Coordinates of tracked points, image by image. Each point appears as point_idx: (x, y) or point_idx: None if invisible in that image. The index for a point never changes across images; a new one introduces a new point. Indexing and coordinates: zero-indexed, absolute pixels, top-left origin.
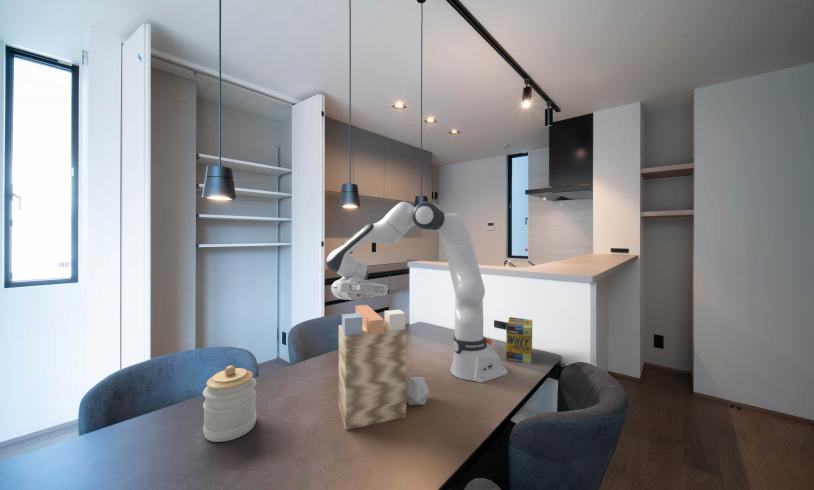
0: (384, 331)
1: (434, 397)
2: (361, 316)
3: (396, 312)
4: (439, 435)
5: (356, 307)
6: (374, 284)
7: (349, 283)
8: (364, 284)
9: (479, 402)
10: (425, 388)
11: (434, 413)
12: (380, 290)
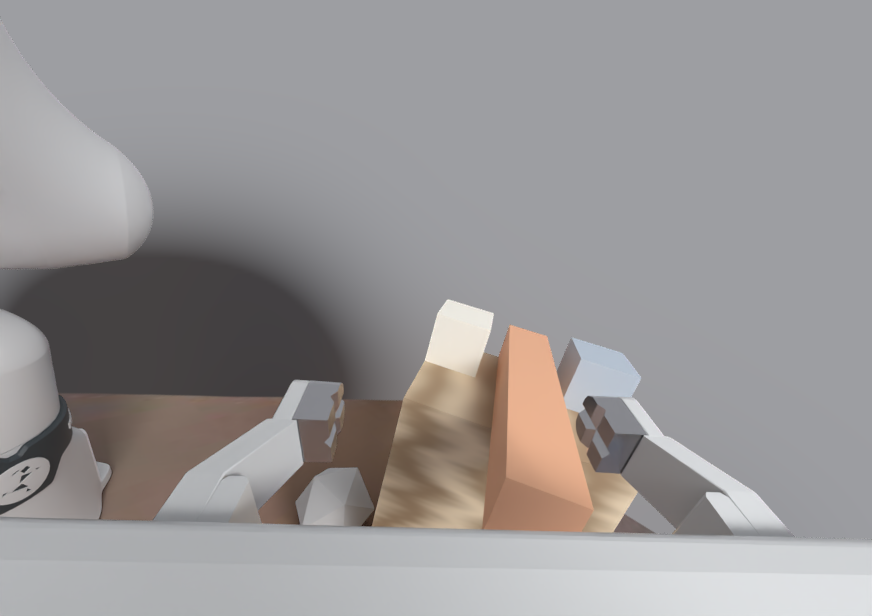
0: (491, 361)
1: (276, 511)
2: (574, 340)
3: (465, 310)
4: (386, 435)
5: (582, 483)
6: (289, 545)
7: (844, 541)
8: (547, 532)
9: (240, 435)
10: (336, 468)
11: None
12: (336, 435)
